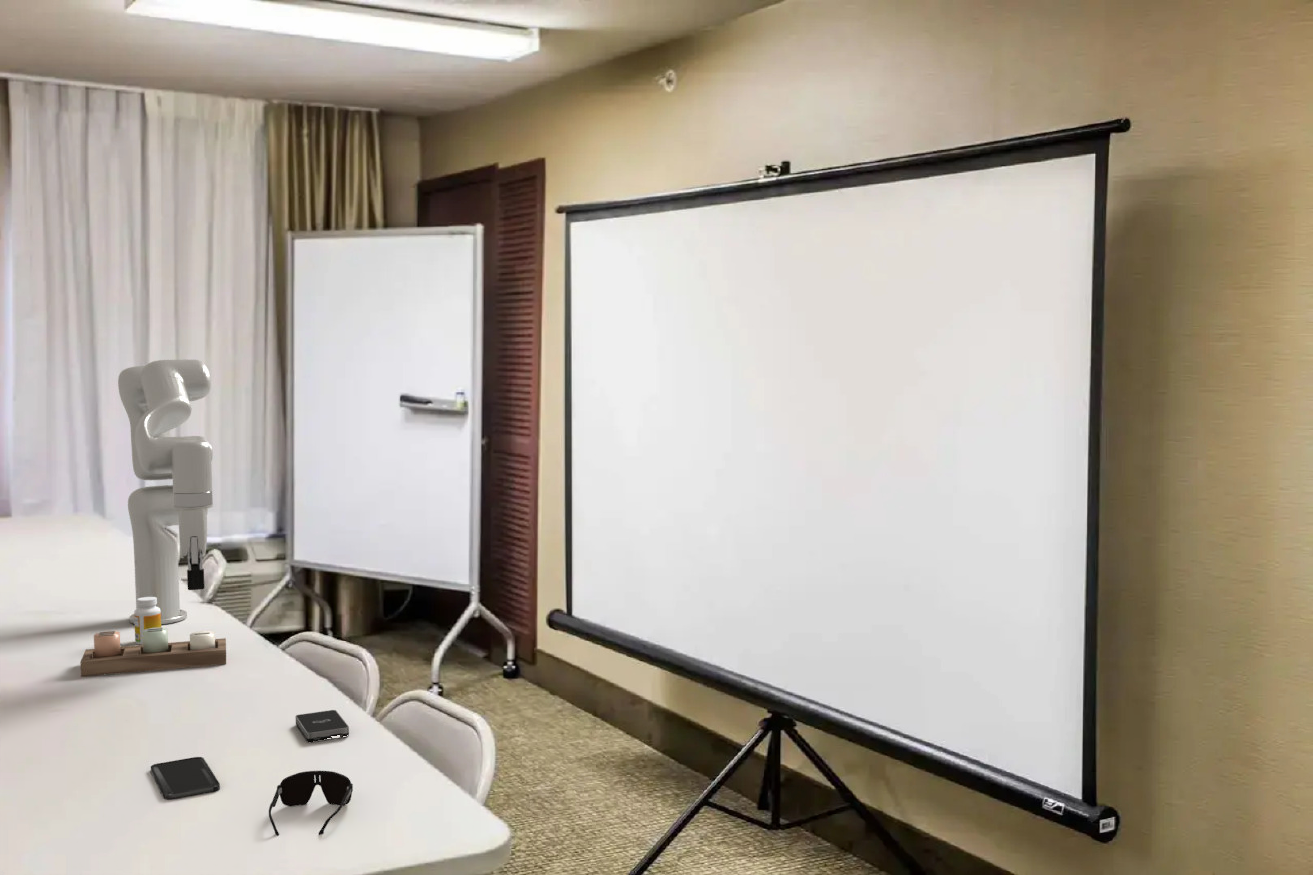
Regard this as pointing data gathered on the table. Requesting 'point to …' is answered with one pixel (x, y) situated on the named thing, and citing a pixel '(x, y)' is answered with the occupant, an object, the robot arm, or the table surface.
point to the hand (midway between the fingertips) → (196, 588)
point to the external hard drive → (321, 725)
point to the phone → (184, 778)
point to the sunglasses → (302, 787)
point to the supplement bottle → (146, 617)
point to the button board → (152, 659)
